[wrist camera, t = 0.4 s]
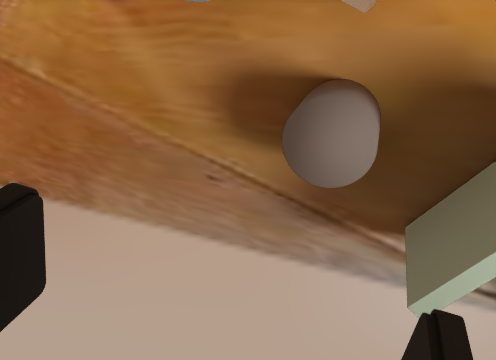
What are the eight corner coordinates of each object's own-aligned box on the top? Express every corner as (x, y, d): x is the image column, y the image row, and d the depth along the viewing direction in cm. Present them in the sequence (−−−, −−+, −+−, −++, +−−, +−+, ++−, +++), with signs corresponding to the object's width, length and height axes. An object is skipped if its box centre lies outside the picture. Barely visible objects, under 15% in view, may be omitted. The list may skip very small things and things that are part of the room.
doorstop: (397, 104, 33) (397, 127, 27) (353, 171, 35) (345, 204, 30) (323, 63, 33) (309, 79, 28) (285, 133, 36) (266, 158, 30)
